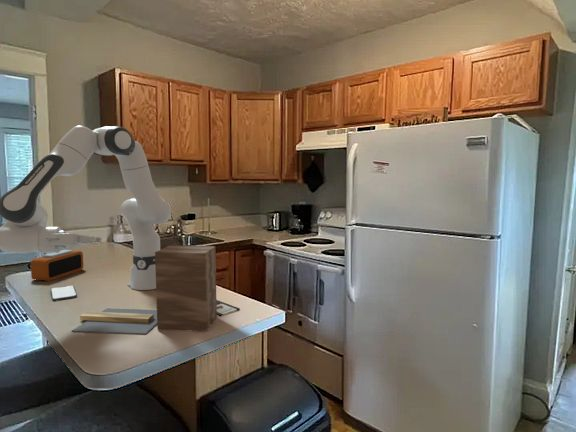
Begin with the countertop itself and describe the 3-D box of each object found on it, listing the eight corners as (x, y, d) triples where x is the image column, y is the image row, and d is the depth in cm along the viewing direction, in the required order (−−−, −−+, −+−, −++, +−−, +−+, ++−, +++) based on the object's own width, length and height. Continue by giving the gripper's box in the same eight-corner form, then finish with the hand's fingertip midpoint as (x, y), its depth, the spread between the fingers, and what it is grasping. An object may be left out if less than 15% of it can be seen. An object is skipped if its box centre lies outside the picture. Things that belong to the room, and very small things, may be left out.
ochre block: (87, 315, 132) (87, 311, 131) (153, 318, 129) (153, 314, 129) (80, 319, 128) (80, 315, 127) (148, 323, 125) (148, 318, 125)
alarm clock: (46, 282, 174) (45, 257, 173) (31, 281, 176) (29, 257, 174) (84, 269, 198) (82, 248, 196) (70, 268, 199) (68, 247, 198)
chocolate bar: (210, 297, 151) (239, 308, 139) (210, 299, 151) (239, 311, 139) (191, 303, 145) (219, 315, 132) (191, 305, 145) (219, 317, 132)
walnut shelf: (171, 315, 133) (169, 245, 130) (216, 317, 132) (215, 246, 129) (157, 329, 121) (154, 252, 118) (206, 331, 120) (205, 253, 117)
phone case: (77, 299, 152) (74, 288, 165) (77, 295, 152) (73, 284, 165) (52, 303, 147) (50, 291, 160) (51, 299, 147) (49, 288, 160)
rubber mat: (106, 309, 139) (106, 308, 139) (170, 311, 137) (170, 310, 137) (71, 331, 119) (71, 330, 119) (145, 334, 117) (145, 333, 117)
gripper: (42, 228, 118) (91, 229, 122) (62, 231, 138) (104, 231, 141) (41, 249, 117) (90, 248, 121) (62, 249, 137) (103, 248, 141)
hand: (98, 239), depth 131 cm, fingers open, 8 cm apart
